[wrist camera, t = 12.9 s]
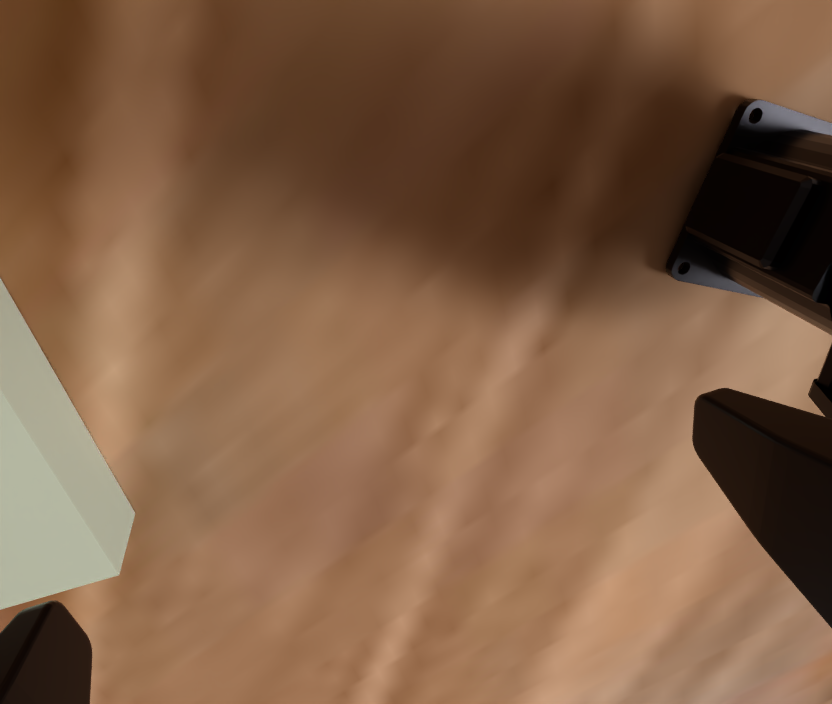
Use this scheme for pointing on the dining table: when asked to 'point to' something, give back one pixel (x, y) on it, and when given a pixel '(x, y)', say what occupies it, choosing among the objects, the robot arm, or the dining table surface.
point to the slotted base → (50, 479)
